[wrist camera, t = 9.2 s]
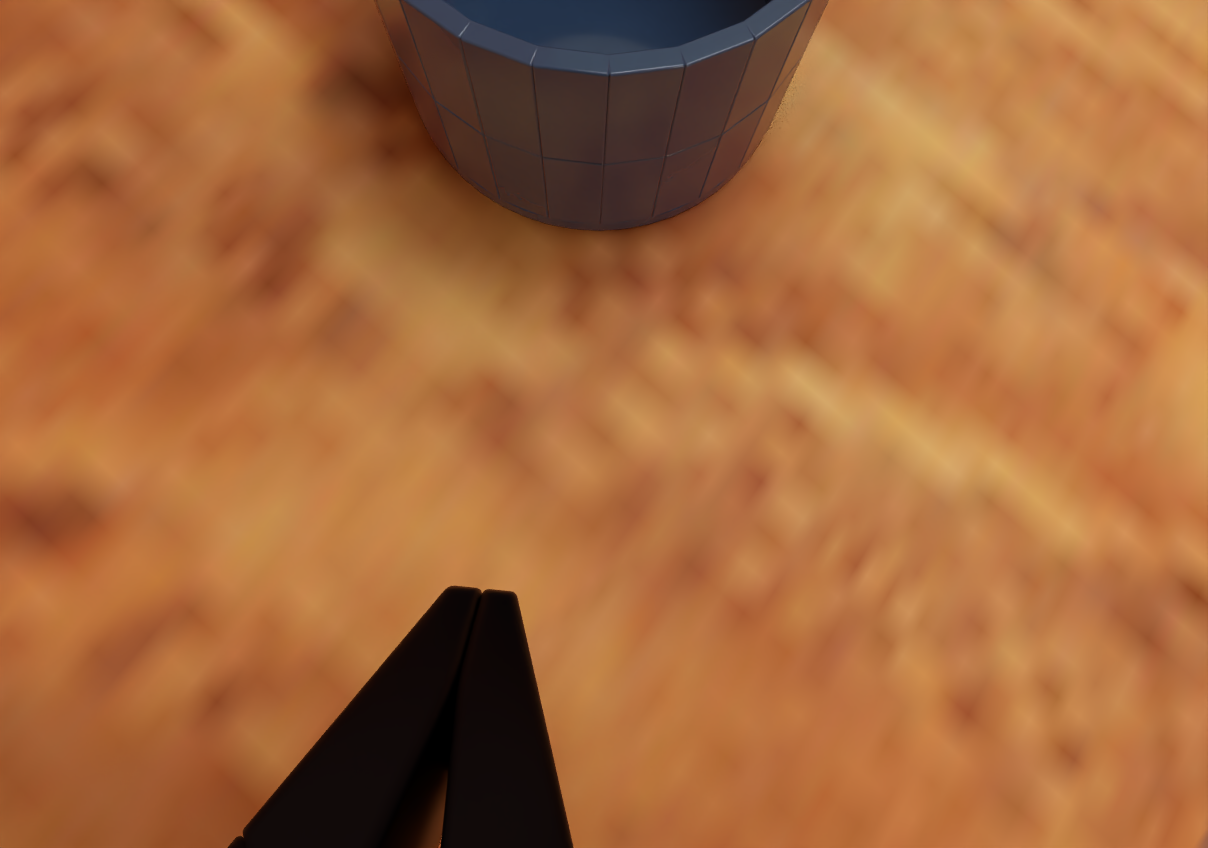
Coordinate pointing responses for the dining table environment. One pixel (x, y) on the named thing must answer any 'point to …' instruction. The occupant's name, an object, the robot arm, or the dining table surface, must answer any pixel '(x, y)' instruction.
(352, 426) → the dining table surface
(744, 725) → the dining table surface
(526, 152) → the bowl
